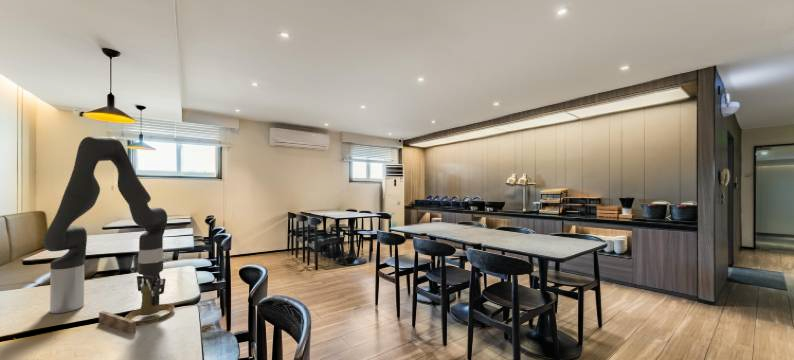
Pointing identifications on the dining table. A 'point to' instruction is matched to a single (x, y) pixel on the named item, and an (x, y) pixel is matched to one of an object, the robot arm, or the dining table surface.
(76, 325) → the dining table surface
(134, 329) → the walnut divider wall
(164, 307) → the plant saucer
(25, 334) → the dining table surface
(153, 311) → the tan tall tapered piece
